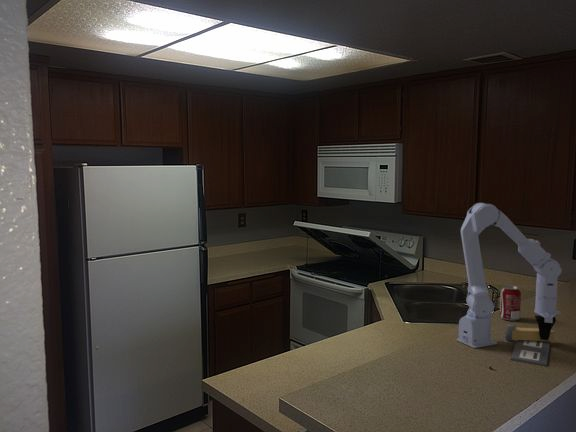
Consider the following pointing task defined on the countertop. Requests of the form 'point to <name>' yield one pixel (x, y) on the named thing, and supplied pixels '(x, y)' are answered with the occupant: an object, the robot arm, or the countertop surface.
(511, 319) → the soda can
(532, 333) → the bar
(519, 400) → the countertop surface
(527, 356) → the label plate
